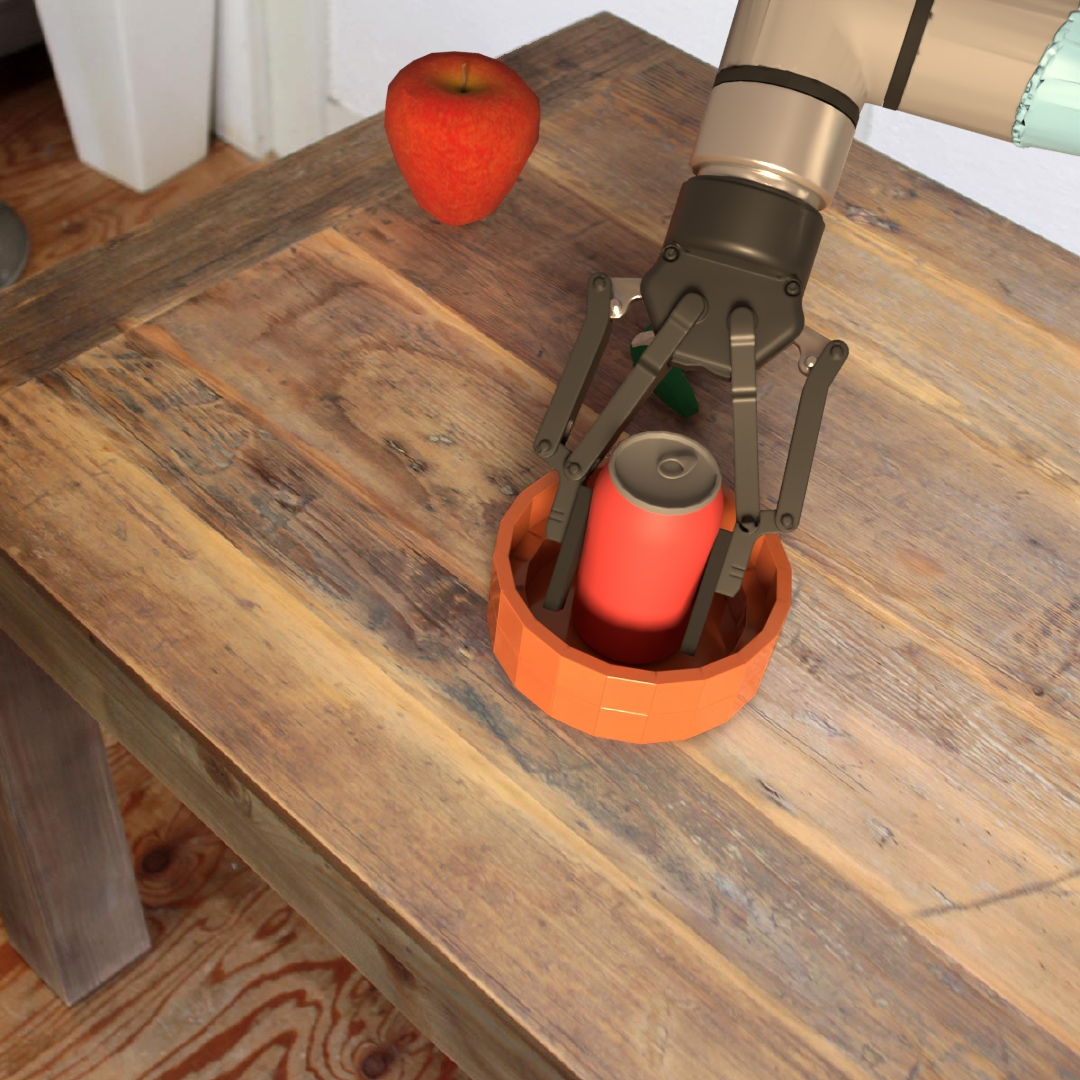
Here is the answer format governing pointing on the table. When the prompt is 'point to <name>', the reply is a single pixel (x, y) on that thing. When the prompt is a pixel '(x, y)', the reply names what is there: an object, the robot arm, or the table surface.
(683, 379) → the gaming controller
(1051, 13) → the robot arm
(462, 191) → the apple
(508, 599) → the bowl
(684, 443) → the beer can
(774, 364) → the table surface
